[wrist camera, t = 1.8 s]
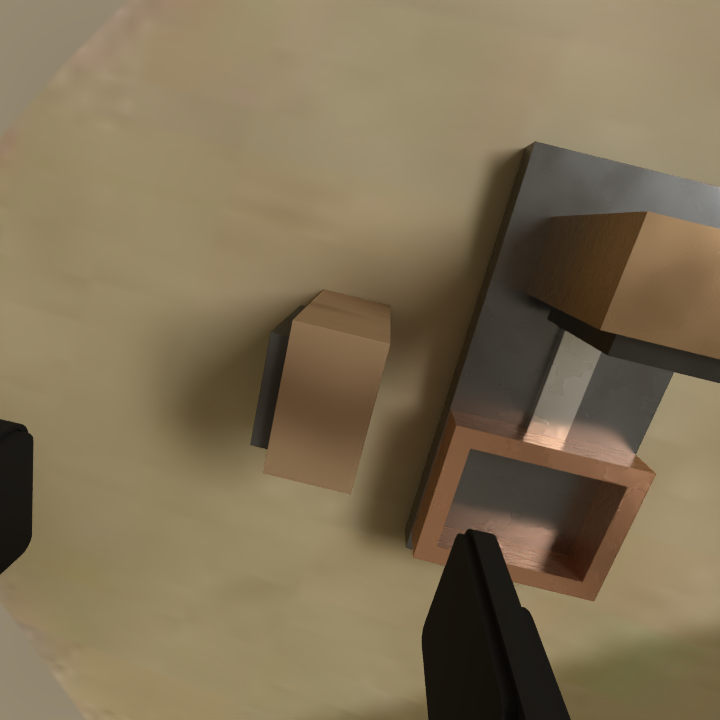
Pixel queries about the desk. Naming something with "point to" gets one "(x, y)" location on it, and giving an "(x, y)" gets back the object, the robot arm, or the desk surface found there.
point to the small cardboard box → (321, 389)
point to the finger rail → (571, 365)
